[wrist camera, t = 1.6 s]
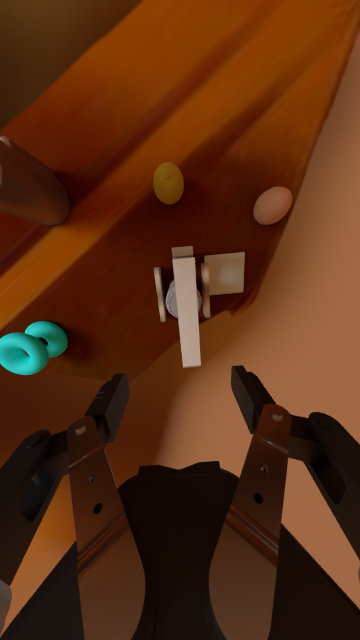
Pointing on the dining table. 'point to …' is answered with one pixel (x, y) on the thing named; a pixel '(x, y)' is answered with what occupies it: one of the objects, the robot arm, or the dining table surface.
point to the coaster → (226, 273)
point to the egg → (272, 205)
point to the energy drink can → (172, 301)
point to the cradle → (187, 253)
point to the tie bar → (187, 310)
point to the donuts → (32, 347)
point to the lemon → (168, 183)
